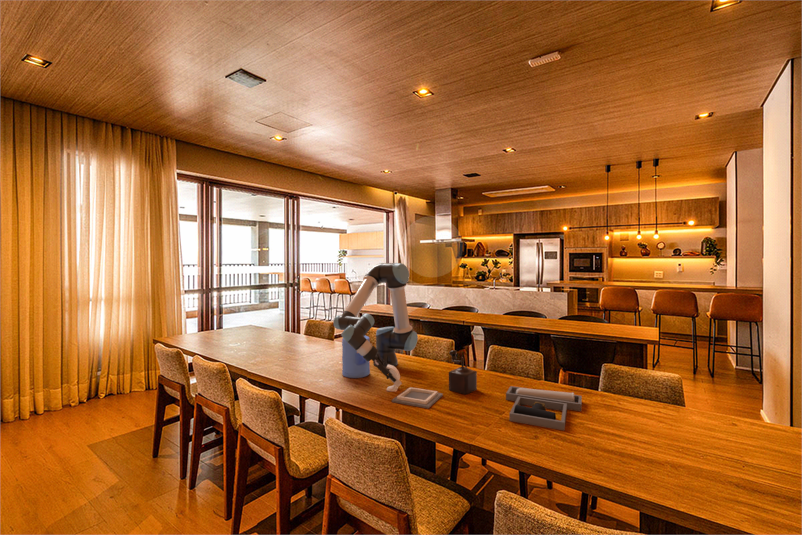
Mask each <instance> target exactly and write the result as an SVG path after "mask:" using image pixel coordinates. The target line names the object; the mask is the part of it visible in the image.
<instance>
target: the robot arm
mask: <svg viewBox="0 0 802 535" xmlns="http://www.w3.org/2000/svg"><path fill="white" fill-rule="evenodd" d="M409 278H410V270H409V269H408V267H407V265H405V264H404V263H402V262H379V263H377V264H376V265H374V266H372V267H371V268H370V269H369V270H368V271H367V272H366V273H365V275H363V280H362V283H361V284H360V286H359V287H358V288H357V290H356V292H355V293H354V295H353V297H352V299H351V300H350V301H349V303H348V304H347V306H346V307H345V310H344V311H343V312H342V314H339V315H336V316H335V317H334V319H333V323H332V324H333V327H334V328H335V329H336V330H340V331H342V332H341V334H340V335H341V337H342V339H343V338H344V339H345V340H346V342H348V343H349V344H350V345H351V346H352V347H353V348H354V349H355V350H356V351H357V354H358V353H359V354H360V355H361V356H363V358H364V359H365V360H366V361H367V362H370V361H372V364H373V366H375V367H376V368H377V369H378V370H379V371H380V372H381V373H382V374H383V375H384V376H385V377H386V379H387V380H388V379H389V380H390V381H391V382H392V383H393V385H394V384H395V385H396V387H398V388H399V387H400V386H401V385H403V382H402V381H401V380H400V379H399V380H398V379H397V377H396V374H395V373H394V372H393V371H392V370H390V369H387V368H386V367H387V365H392V366H394V367H396V366H398V357H397V354H396V350H399V351H409V352H410V351H411V352H412V351H413V350H414V349H415V348H416V346H417V344H418V343H417V342H418V339H419V338H418V333H417V332H416V331H415V330H414V328H413V326H412V325H411V324H410V318H409V310H408V305H407V304H408V303H407V298H406V292H405V287H406V286H407V283H408V282H409ZM382 283H384V284H386V288H387V289H388V290H389V294H390V300H391V305H392V306H391V307H392V313H393V319H394V326H385V327H379V328H377V329H376V330H375V331H376V333H375V343H376V344H375V346H376V347H375V346H374V345H373V343H371V341H370V342H369V341H368V340H367V339H366V338H365V337H364V336H365V335H366V336H367V333H368V332H369V331H370V330H371V329H372V328H373V326H374V324H375V319H374V316H372V315H371V314H370V313H364V314H362V315H361V316H358V315H359V314H360V312H361V311H362V309H363V308H364V306H365V305H366V302H367V301H368V299H369V298H370V296H371V294H372V293H373V291H374V290H375V289H376V288H378V286H379V285H380V284H382ZM400 378H401V375H400Z"/></svg>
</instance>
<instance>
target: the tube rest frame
mask: <svg viewBox="0 0 802 535" xmlns="http://www.w3.org/2000/svg"><path fill="white" fill-rule="evenodd" d="M518 388H522V387H520V386H514V385H513V386H512V385H510V386H509V388H508V390H507V391H506V393H505V401H512V402H515V401H516V399H517V397H518V396H519V397H526V398H533V399H540V400H546V401H553V402H560V403H567V410H570V411H576V412H582V405H583V404H582V398H583V397H582V395H578V394H574V402H568V401H561V400H554V399H548V398H541V397H534V396H527V395H520V394H516V390H517V389H518ZM526 388H527V387H526ZM527 389H529V388H527Z"/></svg>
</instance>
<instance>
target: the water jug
mask: <svg viewBox="0 0 802 535" xmlns="http://www.w3.org/2000/svg"><path fill="white" fill-rule="evenodd" d="M364 337H365V338H366V339H367V340H368V341H369V342H370V343H371V341H370V337H369V336H367V334H366V335H365V336H364ZM341 347H342V348H341V349H342V353H341V354H342V358H341V360H342V363H341V364H342V369H341V371H342V372H341V374H342V376H343V377H345V378H348V379H360V378H365V377H368V376H369V375H370V373H371V370H370V368H371V367H370V366H371V365H370V361H369V362H367V361H366V360H365V359H364V358H363V356H361V355H360V354H359V353H358V354H357V351H356V350H355V349H354V348H353V347H352V346H351V345H350V344H349V343H348V342H346V340H345V339H344V338H343V337H342V341H341Z"/></svg>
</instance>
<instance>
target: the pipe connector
mask: <svg viewBox="0 0 802 535" xmlns="http://www.w3.org/2000/svg"><path fill="white" fill-rule="evenodd" d="M514 413H517V414H523V415H529V416H535V417H541V418H547V419H553V420H557V416H556V415H557V414H556V412H555V411H550V410H547V408H545V404H544V403H540V402H535V403H534V404H533V406H526V405H521V404H520V405H516V406H515V409H514Z"/></svg>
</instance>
